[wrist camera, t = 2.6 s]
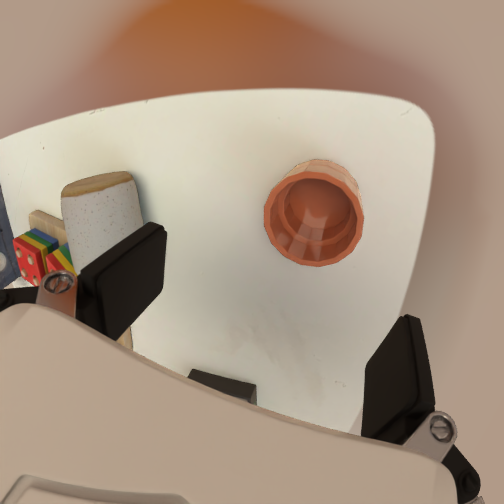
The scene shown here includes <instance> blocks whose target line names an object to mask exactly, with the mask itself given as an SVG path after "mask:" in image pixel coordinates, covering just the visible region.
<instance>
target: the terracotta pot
mask: <svg viewBox="0 0 504 504" xmlns="http://www.w3.org/2000/svg"><path fill="white" fill-rule="evenodd" d="M363 222H364V215H363V207H362V200H361V194H360V191H359V188H358V185H357V182H356V180H355V179H354V178H353V177H352V176H351V174H350V173H349V172H348V171H347V170H346V169H345V168H343V167H342V166H340V165H338V164H336V163H334V162H332V161H329V160H316V159H314V160H310V161H307V162H304V163H301V164H298V165H296V166H295V167H294V168H293V169H292V170H291V171H290V172H289V173H288V174H287V175H286V176H285V177H284V178H283V179H282V180H281V181H280V182H279V183H278V184H277V185H276V186H275V187H274V188H273V189H272V191H271V192H270V194H269V197H268V199H267V201H266V204H265V206H264V227H265V229H266V232H267V234H268V236H269V239H270V241H271V243H272V244H273V245H274V246H275V247H276V248H277V250H278V251H279V252H280V253H281V254H282V255H283V256H284V257H286V258H288V259H290V260H292V261H294V262H296V263H298V264H301V265H307V266H315V267H321V266H326V265H330V264H334V263H337V262H339V261H340V260H342V259H343V258H345V257H346V256H347V255H349V254H350V253H351V252H352V251H353V250H354V248H355V247H356V245H357V243H358V242H359V240H360V238H361V236H362V230H363Z"/></svg>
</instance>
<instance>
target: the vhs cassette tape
mask: <svg viewBox="0 0 504 504" xmlns="http://www.w3.org/2000/svg"><path fill="white" fill-rule="evenodd" d="M13 239H14V237H13V234H12V231H11V228H10V224H9V219H8V216H7V212H6V208H5V204H4V199H3V195H2V190H1V185H0V290H2V289H4V287H6V286H7V285H9V284H10V283H12V282H13V281H15V279H17V278H18V277H20V276H22V275H21V272H20V268H19V265H18V261H17V257H16V253H15V249H14V245H13Z"/></svg>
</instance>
